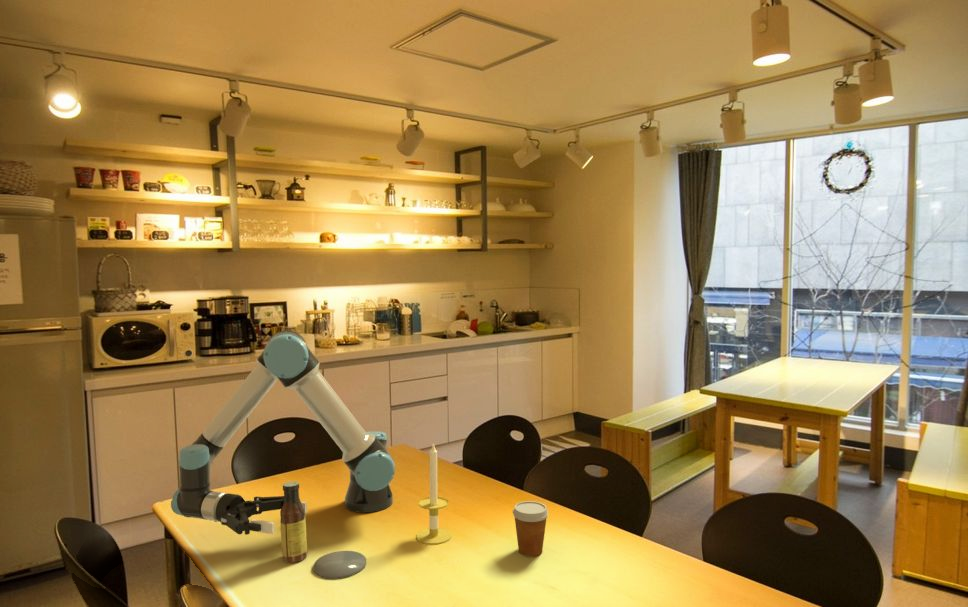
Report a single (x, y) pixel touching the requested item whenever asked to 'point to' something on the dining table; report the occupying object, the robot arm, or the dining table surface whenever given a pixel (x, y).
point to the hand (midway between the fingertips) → (290, 517)
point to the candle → (433, 508)
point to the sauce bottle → (293, 525)
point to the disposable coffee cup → (530, 526)
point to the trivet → (339, 564)
